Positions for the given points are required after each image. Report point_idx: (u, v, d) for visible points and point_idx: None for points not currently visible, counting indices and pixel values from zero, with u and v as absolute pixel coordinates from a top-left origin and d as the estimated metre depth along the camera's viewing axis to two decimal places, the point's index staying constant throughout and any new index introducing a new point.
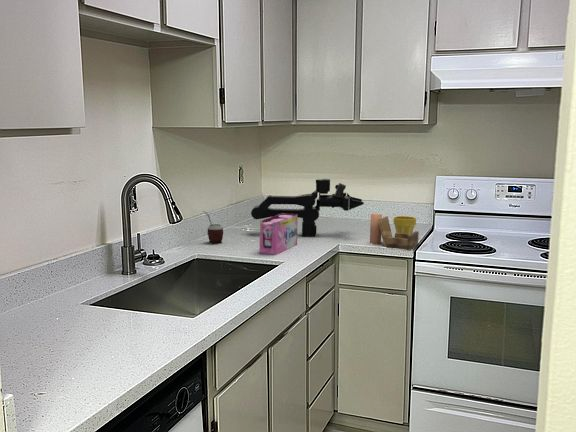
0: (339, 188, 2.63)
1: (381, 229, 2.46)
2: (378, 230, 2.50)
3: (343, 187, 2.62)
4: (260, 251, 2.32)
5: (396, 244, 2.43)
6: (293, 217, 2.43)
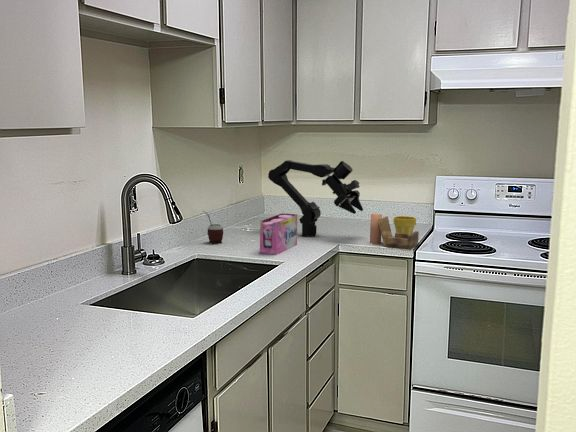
0: (350, 184, 2.53)
1: (381, 229, 2.46)
2: (378, 230, 2.50)
3: (353, 186, 2.52)
4: (260, 251, 2.32)
5: (396, 244, 2.43)
6: (293, 217, 2.43)
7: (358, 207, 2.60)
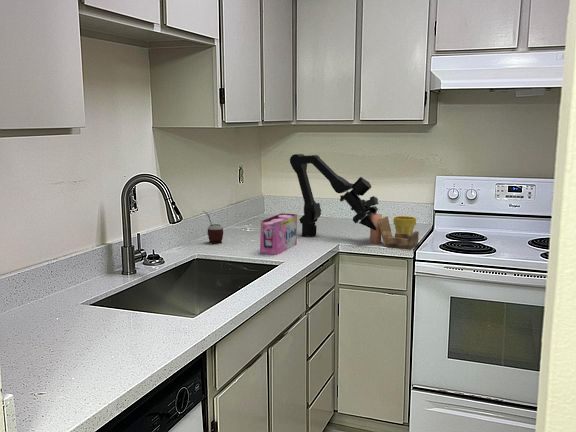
0: (369, 201, 2.50)
1: (381, 229, 2.46)
2: (378, 230, 2.50)
3: (372, 203, 2.49)
4: (261, 251, 2.32)
5: (396, 244, 2.43)
6: (293, 217, 2.44)
7: None
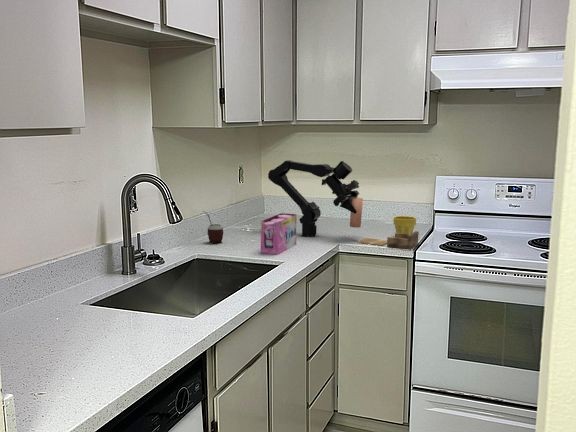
0: (350, 184, 2.53)
1: None
2: (358, 214, 2.54)
3: (353, 187, 2.52)
4: (261, 251, 2.32)
5: (396, 244, 2.43)
6: (292, 217, 2.44)
7: None
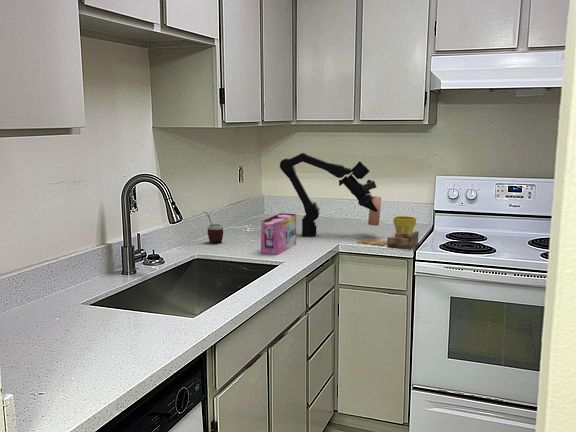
0: (370, 184, 2.59)
1: None
2: (378, 212, 2.61)
3: (373, 186, 2.59)
4: (261, 251, 2.32)
5: (396, 244, 2.43)
6: (292, 217, 2.44)
7: None
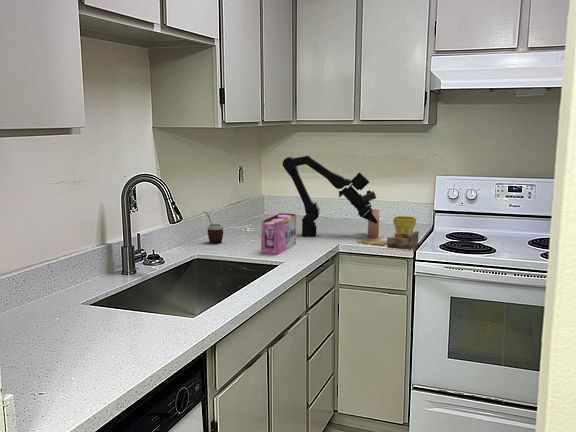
0: (370, 195, 2.60)
1: None
2: (377, 225, 2.63)
3: (373, 197, 2.60)
4: (262, 251, 2.32)
5: (396, 244, 2.43)
6: (292, 217, 2.44)
7: None
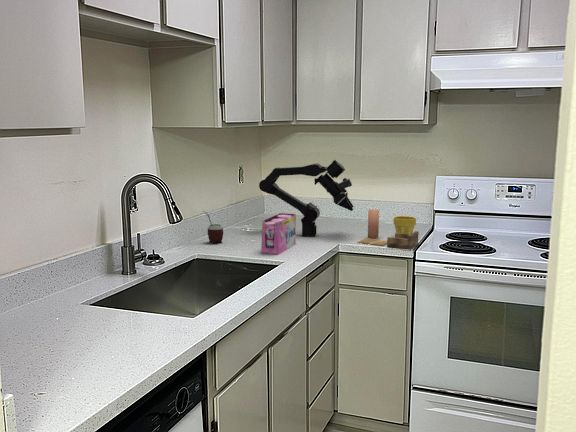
0: (345, 182, 2.59)
1: None
2: (377, 225, 2.63)
3: (349, 184, 2.59)
4: (262, 251, 2.32)
5: (396, 244, 2.43)
6: (292, 217, 2.44)
7: None
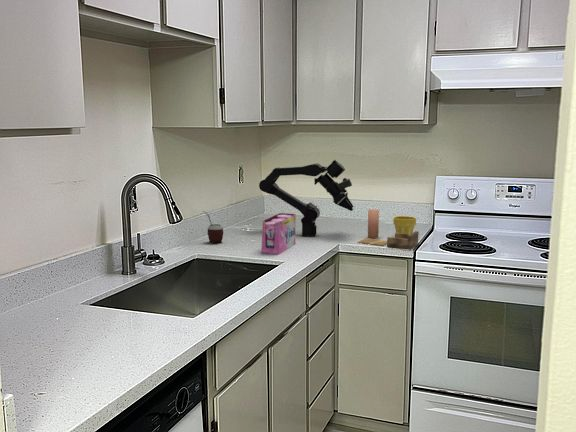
0: (345, 182, 2.59)
1: None
2: (377, 225, 2.63)
3: (349, 184, 2.59)
4: (262, 251, 2.32)
5: (396, 244, 2.43)
6: (292, 217, 2.44)
7: None
